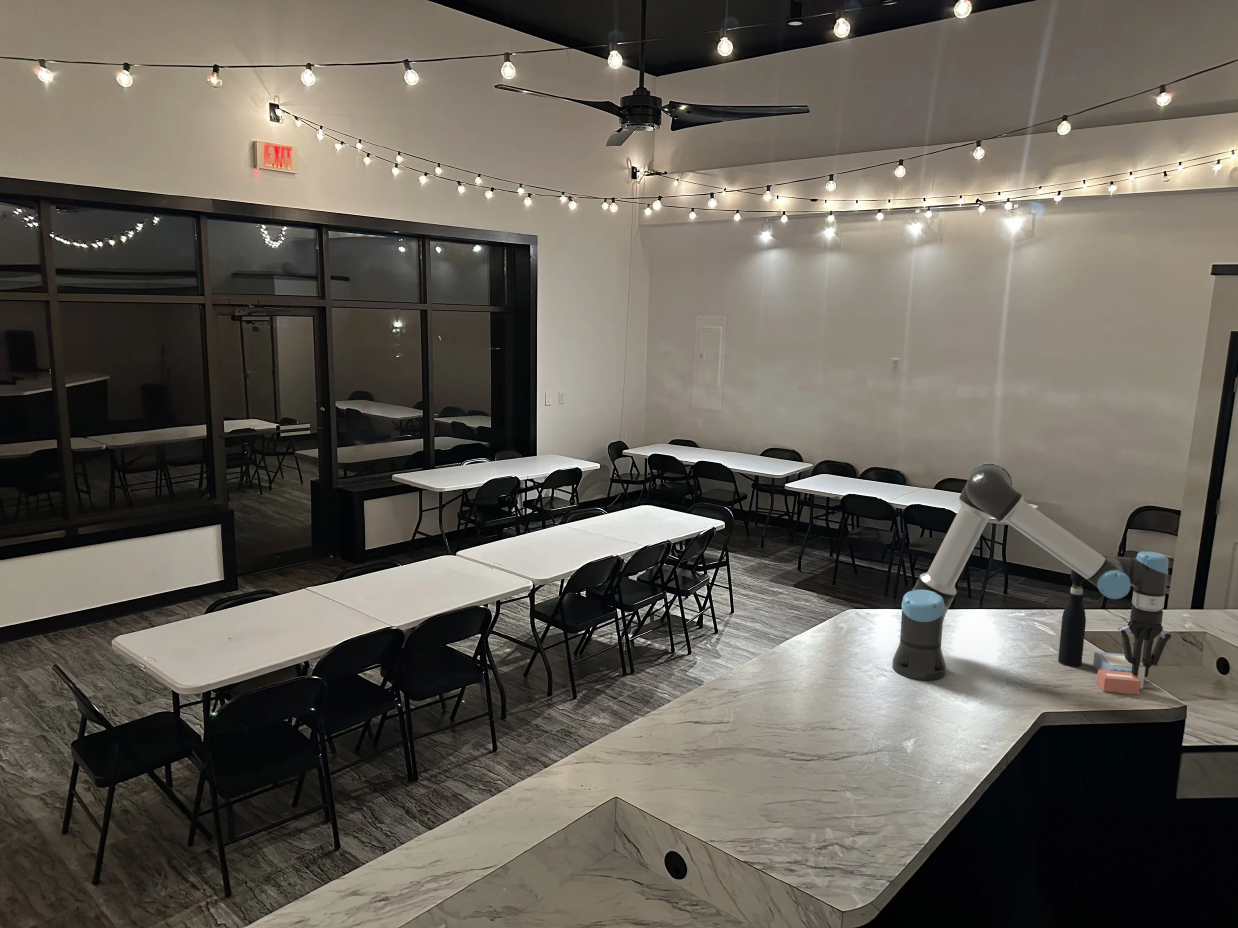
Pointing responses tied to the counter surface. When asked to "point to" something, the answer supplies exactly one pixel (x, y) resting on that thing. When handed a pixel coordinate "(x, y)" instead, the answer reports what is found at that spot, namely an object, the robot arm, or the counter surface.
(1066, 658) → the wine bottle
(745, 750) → the counter surface
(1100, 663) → the blue labeled box
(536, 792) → the counter surface
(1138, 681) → the red box
